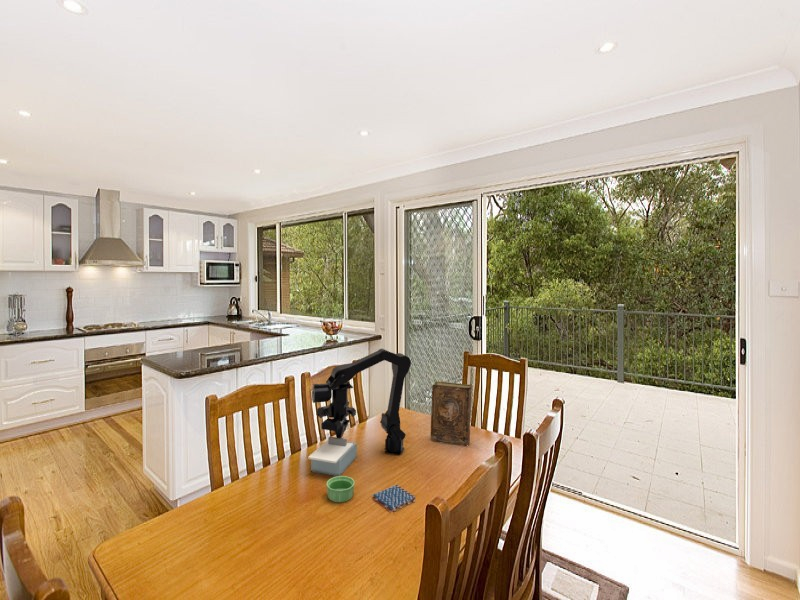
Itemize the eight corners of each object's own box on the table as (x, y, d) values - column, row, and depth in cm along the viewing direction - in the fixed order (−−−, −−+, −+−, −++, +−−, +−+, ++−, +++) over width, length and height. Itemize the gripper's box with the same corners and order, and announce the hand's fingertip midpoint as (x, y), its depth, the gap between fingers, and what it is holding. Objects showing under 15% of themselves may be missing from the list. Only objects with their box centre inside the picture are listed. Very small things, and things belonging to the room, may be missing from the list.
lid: (328, 441, 156) (328, 433, 156) (353, 445, 153) (353, 437, 153) (308, 458, 141) (308, 450, 141) (335, 463, 138) (335, 454, 138)
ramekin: (320, 498, 127) (320, 485, 127) (337, 485, 135) (337, 473, 135) (343, 507, 123) (343, 493, 123) (359, 493, 131) (360, 480, 131)
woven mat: (370, 500, 128) (370, 493, 128) (395, 489, 135) (396, 483, 135) (390, 515, 120) (391, 508, 120) (417, 503, 127) (417, 496, 127)
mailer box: (330, 452, 160) (331, 439, 159) (356, 456, 157) (356, 443, 156) (311, 471, 144) (311, 456, 144) (339, 476, 141) (339, 461, 141)
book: (470, 441, 174) (472, 384, 172) (468, 446, 168) (470, 388, 167) (433, 436, 178) (434, 381, 177) (430, 441, 173) (432, 384, 172)
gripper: (331, 391, 164) (330, 428, 165) (308, 405, 146) (307, 446, 147) (356, 394, 161) (356, 432, 162) (336, 408, 143) (335, 451, 144)
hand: (339, 440), depth 153 cm, fingers closed
